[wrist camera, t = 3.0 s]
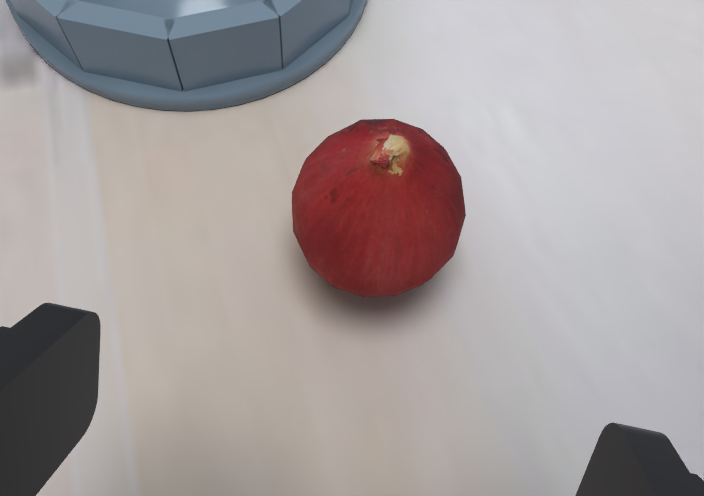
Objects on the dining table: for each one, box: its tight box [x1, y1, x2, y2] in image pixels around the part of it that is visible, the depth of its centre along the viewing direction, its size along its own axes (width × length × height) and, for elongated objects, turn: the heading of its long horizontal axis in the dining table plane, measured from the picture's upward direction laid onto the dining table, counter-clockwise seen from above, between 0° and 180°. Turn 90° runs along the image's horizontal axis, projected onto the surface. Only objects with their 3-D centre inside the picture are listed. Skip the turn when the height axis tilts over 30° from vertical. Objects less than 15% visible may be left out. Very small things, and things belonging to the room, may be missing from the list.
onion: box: [292, 119, 466, 296], centre depth 20 cm, size 6×6×8 cm
